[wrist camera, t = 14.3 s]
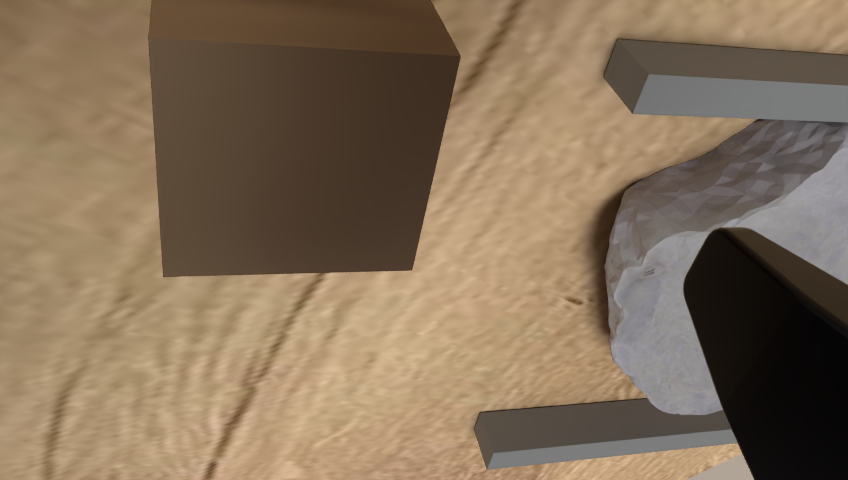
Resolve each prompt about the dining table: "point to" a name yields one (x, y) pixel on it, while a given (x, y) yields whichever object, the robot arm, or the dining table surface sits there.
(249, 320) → the dining table surface
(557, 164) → the dining table surface
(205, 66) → the block
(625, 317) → the stone block
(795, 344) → the robot arm
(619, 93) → the frame
